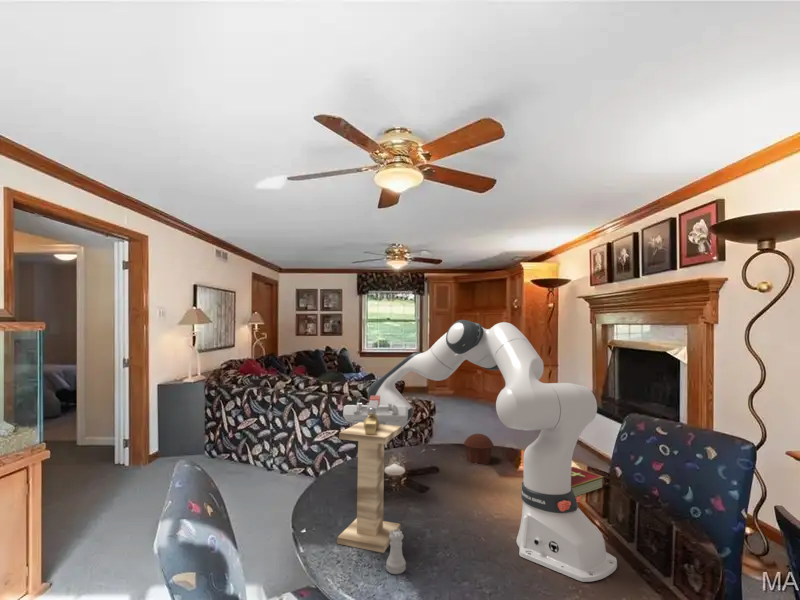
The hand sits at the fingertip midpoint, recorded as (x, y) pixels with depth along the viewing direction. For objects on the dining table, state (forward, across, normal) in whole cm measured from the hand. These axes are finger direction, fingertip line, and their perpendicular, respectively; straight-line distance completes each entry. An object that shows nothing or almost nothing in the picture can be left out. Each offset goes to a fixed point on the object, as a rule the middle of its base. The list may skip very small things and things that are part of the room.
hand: (375, 405), depth 132 cm
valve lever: (+11, 0, +5) cm, 12 cm away
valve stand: (+4, 0, +35) cm, 35 cm away
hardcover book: (-25, +63, +19) cm, 70 cm away
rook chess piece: (+16, +7, +42) cm, 46 cm away
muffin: (-48, +39, +6) cm, 62 cm away
